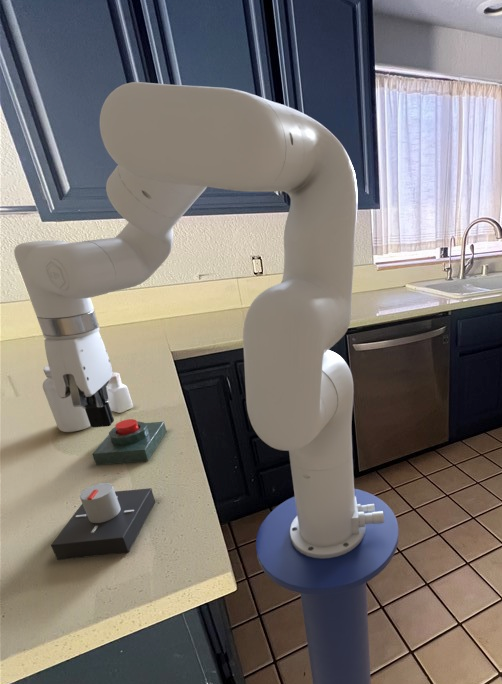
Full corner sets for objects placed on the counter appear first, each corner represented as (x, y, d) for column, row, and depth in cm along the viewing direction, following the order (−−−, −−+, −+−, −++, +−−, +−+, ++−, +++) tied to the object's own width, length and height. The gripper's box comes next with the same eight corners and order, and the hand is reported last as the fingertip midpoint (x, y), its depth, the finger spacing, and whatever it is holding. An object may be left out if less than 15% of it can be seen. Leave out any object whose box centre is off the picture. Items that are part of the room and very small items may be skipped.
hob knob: (96, 506, 70) (87, 482, 68) (125, 503, 70) (116, 479, 68) (83, 524, 66) (73, 499, 64) (113, 521, 66) (104, 497, 64)
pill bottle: (80, 434, 97) (58, 373, 91) (50, 431, 99) (25, 371, 92) (106, 417, 104) (87, 360, 98) (77, 416, 106) (56, 358, 99)
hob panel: (155, 501, 75) (151, 487, 74) (128, 552, 65) (122, 536, 63) (95, 507, 74) (89, 492, 73) (57, 560, 63) (49, 544, 62)
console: (166, 431, 98) (162, 414, 96) (148, 460, 87) (142, 441, 85) (120, 435, 97) (114, 417, 95) (95, 465, 86) (88, 446, 84)
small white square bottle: (125, 404, 111) (114, 370, 107) (134, 407, 109) (124, 373, 105) (110, 411, 108) (98, 376, 104) (119, 414, 106) (108, 379, 102)
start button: (141, 425, 92) (139, 418, 91) (134, 434, 89) (132, 427, 88) (122, 427, 92) (119, 419, 91) (114, 436, 88) (111, 429, 87)
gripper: (67, 313, 74) (98, 407, 82) (14, 339, 61) (58, 448, 69) (114, 311, 75) (140, 404, 83) (72, 336, 62) (108, 444, 70)
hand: (103, 424), depth 76 cm, fingers closed
